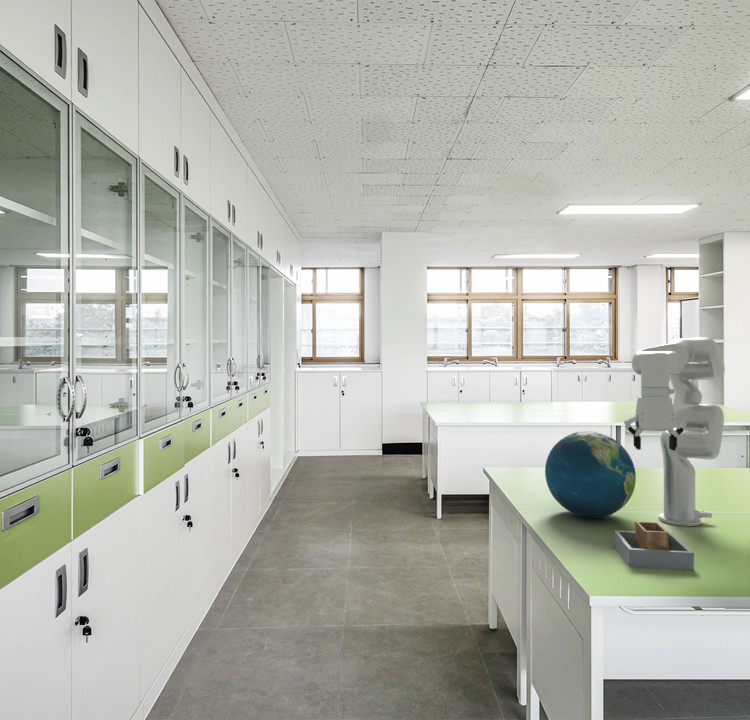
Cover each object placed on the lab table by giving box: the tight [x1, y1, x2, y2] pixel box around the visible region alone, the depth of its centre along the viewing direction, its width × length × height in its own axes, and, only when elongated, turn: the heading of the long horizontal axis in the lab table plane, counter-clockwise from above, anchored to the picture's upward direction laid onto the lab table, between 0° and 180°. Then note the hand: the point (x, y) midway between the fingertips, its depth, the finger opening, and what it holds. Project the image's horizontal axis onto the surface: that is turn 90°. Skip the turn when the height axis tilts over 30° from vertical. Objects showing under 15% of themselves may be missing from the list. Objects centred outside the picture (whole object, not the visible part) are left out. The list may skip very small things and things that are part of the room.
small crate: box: [634, 520, 670, 550], centre depth 151 cm, size 6×9×8 cm, turn 169°
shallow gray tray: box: [613, 530, 695, 571], centre depth 151 cm, size 16×16×5 cm
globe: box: [544, 430, 637, 519], centre depth 190 cm, size 30×30×30 cm
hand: (655, 449), depth 163 cm, fingers open, 9 cm apart
